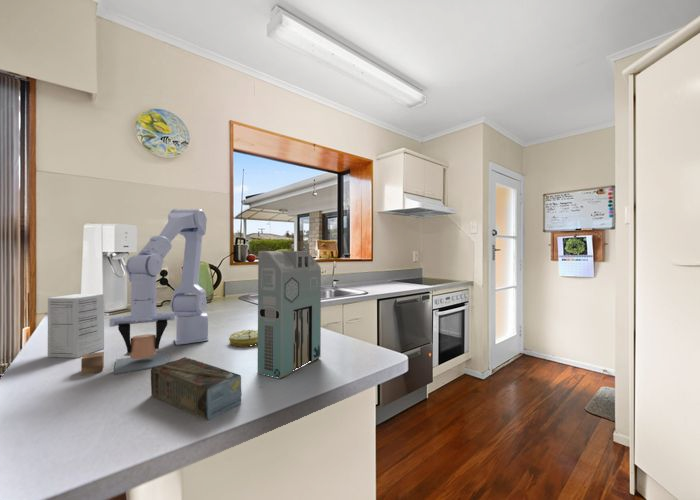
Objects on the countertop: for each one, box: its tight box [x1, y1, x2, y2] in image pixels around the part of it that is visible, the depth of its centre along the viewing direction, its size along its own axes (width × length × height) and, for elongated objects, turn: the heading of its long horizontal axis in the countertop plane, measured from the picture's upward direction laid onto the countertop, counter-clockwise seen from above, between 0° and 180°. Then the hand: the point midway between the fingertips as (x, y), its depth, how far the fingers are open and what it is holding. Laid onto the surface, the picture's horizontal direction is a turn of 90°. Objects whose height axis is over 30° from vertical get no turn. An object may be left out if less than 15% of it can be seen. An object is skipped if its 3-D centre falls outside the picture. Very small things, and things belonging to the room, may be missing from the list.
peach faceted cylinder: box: [130, 333, 157, 359], centre depth 85 cm, size 6×6×5 cm
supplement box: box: [47, 293, 105, 359], centre depth 94 cm, size 10×9×17 cm
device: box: [257, 250, 322, 379], centre depth 83 cm, size 16×8×30 cm, turn 151°
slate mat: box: [113, 351, 171, 376], centre depth 85 cm, size 12×12×1 cm
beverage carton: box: [150, 356, 242, 421], centre depth 64 cm, size 8×19×7 cm, turn 59°
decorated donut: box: [228, 329, 258, 347], centre depth 104 cm, size 10×11×4 cm
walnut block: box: [80, 351, 105, 376], centre depth 79 cm, size 4×4×4 cm
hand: (143, 350), depth 85 cm, fingers closed on peach faceted cylinder, 6 cm apart
